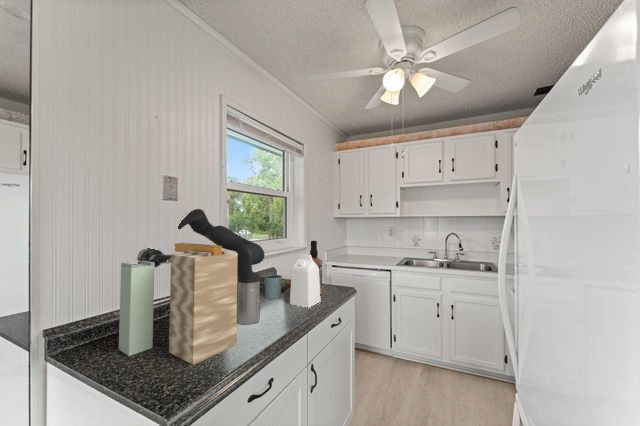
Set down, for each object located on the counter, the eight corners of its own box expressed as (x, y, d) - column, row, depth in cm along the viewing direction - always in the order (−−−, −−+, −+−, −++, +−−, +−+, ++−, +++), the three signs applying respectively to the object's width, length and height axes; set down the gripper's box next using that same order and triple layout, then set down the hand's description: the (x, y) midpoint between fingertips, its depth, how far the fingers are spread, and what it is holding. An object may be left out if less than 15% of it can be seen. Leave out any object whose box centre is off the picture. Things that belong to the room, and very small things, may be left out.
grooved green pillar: (118, 349, 91) (121, 262, 92) (141, 342, 97) (143, 260, 98) (128, 356, 86) (131, 265, 87) (152, 347, 92) (154, 262, 93)
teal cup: (280, 299, 150) (280, 278, 150) (262, 299, 150) (262, 278, 151) (282, 295, 160) (283, 274, 161) (266, 294, 160) (266, 274, 161)
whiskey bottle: (320, 296, 157) (320, 241, 158) (303, 295, 159) (303, 241, 160) (323, 292, 167) (323, 240, 168) (307, 291, 169) (308, 240, 170)
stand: (168, 352, 89) (171, 251, 90) (212, 335, 102) (213, 248, 103) (193, 364, 81) (195, 254, 82) (236, 345, 94) (237, 250, 96)
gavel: (286, 289, 162) (271, 288, 164) (286, 296, 162) (271, 295, 164) (297, 279, 182) (284, 279, 185) (298, 286, 182) (284, 285, 185)
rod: (174, 251, 101) (175, 243, 101) (182, 250, 104) (182, 242, 104) (213, 255, 88) (214, 246, 88) (221, 254, 90) (221, 245, 90)
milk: (320, 302, 145) (320, 254, 146) (308, 308, 135) (308, 256, 136) (302, 299, 151) (302, 252, 152) (289, 304, 142) (289, 254, 143)
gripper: (166, 264, 122) (186, 268, 112) (130, 268, 110) (148, 274, 101) (167, 247, 122) (186, 250, 113) (131, 250, 110) (149, 254, 101)
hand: (168, 261), depth 107 cm, fingers open, 8 cm apart
